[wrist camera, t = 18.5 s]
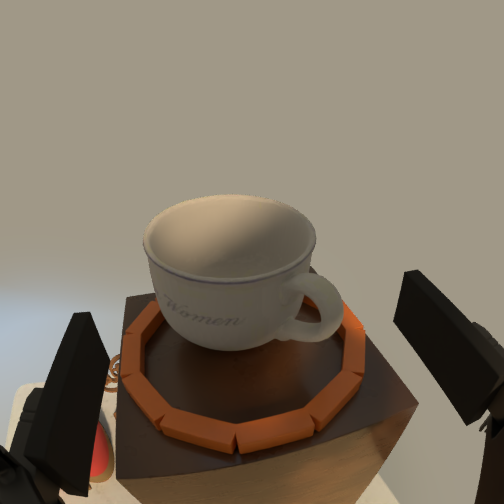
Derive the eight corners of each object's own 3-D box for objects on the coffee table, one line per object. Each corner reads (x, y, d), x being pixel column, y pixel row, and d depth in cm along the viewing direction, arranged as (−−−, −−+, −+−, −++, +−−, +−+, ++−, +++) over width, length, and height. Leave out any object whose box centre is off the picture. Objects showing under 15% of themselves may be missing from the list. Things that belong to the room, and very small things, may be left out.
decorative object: (93, 387, 40) (111, 474, 28) (102, 402, 41) (122, 485, 29) (17, 404, 34) (19, 488, 22) (29, 419, 36) (34, 500, 24)
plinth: (300, 400, 42) (311, 265, 32) (352, 507, 26) (419, 403, 16) (174, 426, 38) (126, 296, 28) (194, 546, 23) (115, 479, 13)
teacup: (145, 297, 26) (124, 213, 21) (254, 255, 31) (255, 176, 26) (228, 436, 17) (216, 361, 12) (362, 354, 21) (394, 265, 17)
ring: (308, 269, 31) (308, 258, 31) (407, 400, 17) (412, 388, 16) (131, 299, 28) (128, 288, 27) (125, 469, 13) (117, 460, 13)
